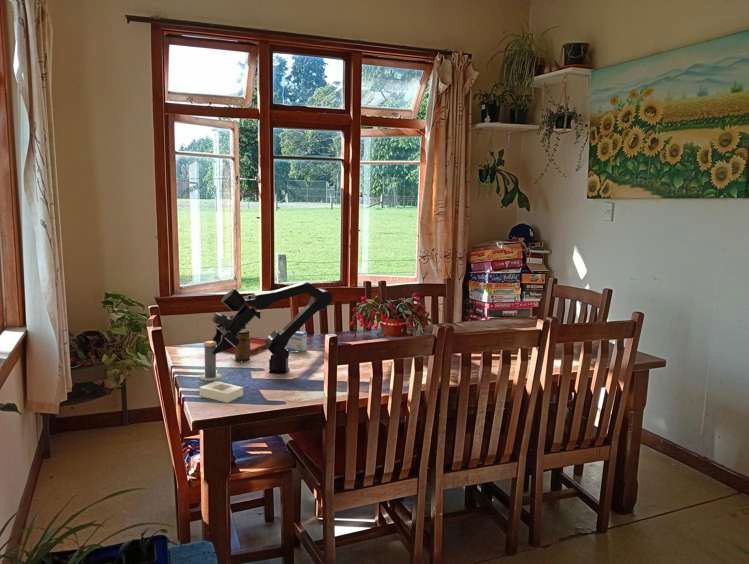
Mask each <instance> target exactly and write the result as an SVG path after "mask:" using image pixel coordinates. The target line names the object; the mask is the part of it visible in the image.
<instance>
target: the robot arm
mask: <svg viewBox="0 0 749 564" xmlns="http://www.w3.org/2000/svg"><path fill="white" fill-rule="evenodd" d="M302 294H307V295H310V296H311V297H310V299H309V300H308V301H309V302H308V303H307V305H306V306H304V308H303V309H302V310H300V311H299V312H298V313H297V314H296V315H295V316H294V317H293V318H292V319H291V320H290V321H289V322H288V323H287V324H286V325H285V326H284V327H283V328H282V329H281V330H279V331H277V330H276V329H274V330H273V331H272V332H271V334H269V335H267V336H266V338H267V340H266V347H265V348H266V349H267V350H268V351H269V352H270V354H271V355H270V359H269V360H268V369H269V371H268V373H269V374H270V373H271V374H280V375H281V374H284V375H285V374H287V372H288V371H290V367H289V355H291V354H290V353H291V352H290V351H287V350H286V346H287V344H288V342H289V339H290V338H291V337H292V336H293V335H294V334H295V333H296V332H297V331H300V329H301V328H302V327H304V325H305V324H306V323H307V322H308V321H309V320H310V319H312V317H313V316H314V315H315V314H316V313H317V312H319V311H322V310H324V309H325V308H327V307H328V306H330V305H331V304H332V302H333V295H332V293H331V292H329V291H328V290H327V289H324V288H317V287H316V286H313V285H312V284H311V283H309V282H308V281H307V280H306V281H305V280H303V281H301V282H299V283H295V284H291V285H287V286H285V287H281V288H279V289H275V290H263V291H256V292H254V293H252V294H251V295H247V296H246V295H245V296H243V295H242V294H241V293H240V292H239V291H238V290H237V288H233V289H232V290H230V291H229V292H227V293H225V294H224V296H223V297H222V298H221V303H223V305H225V306H226V307H227V308H228V309H229V310H230V311H232V312H234V311H235V312H236V313H235V314H234V315H230V316H229V317H228V316H227V315H225V314H223V313H222V314H221V313H218V312H215V313H214V314H213V316H212V319H211V321H212V322H213V323H214V324H215V326H216V327H215V328H214V330H215V334H214V336H213V338H212V339H211V341H216V348H215V349H214V351H213V354H214V355H215V354H216V355H218V354H220V353H223V352H224V351H225V350H227V349H230V348H232V347H234V346H237V345H238V344H239V343H240V340H239V338H238V335H237V334H238V333H239V332H240V331H241V330H246V329H247V327H246V326H247V325H248V324H249V323H250V322H251V321H252V320H253V319H254V318H255V317H256V318H258V319H259V320H260V319H261V313H262V312H261V310H264V309H266V308H269V307H270V306H272V305H273V304H275V303H277V302H278V301H282V300H286V299H290V298H293V297H295V296H300V295H302ZM248 305H249V306H248ZM254 307H255V308H254ZM256 309H258V310H256ZM217 344H218V345H217Z"/></svg>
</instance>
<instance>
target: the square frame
mask: <svg viewBox="0 0 749 564" xmlns="http://www.w3.org/2000/svg"><path fill="white" fill-rule="evenodd" d="M243 396H244V387H243V386H239V385H236V384H231V383H226V382H222V381H218V380H214V381H211V382H210V383H207V384H205V385H203V386H202V385H201V386H199V397H202V398H207V399H211V400H215V401H219V402H223V403H229V402H232V401H234V400H237V399H239V398H241V397H243ZM238 397H239V398H238Z"/></svg>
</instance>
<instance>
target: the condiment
mask: <svg viewBox="0 0 749 564" xmlns="http://www.w3.org/2000/svg"><path fill="white" fill-rule="evenodd" d="M237 335H238V338H239V340H240V343H239V344H238V345H237V346H235V352H234V357H231V358H230V359H231V360H232V361H236V362H238V363H240V364H241V363H243V364H244V363H251V362H255V361H257V360H256V359H255V358H252V357H251V354H250V337H251V336H250V331H249V330H248V329H242V330H241V331H240V332H239V333H238V334H237ZM241 361H242V362H241Z"/></svg>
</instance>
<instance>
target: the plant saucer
mask: <svg viewBox="0 0 749 564" xmlns="http://www.w3.org/2000/svg"><path fill="white" fill-rule="evenodd" d="M249 337H250V355H251V354H254V353H255V352H258V351H261V350H263V349H265V348H267V347H266V340H267V339H268V338H267V339H266V338H262V337H255V336H254V337H253V336H249ZM217 345H218V344H217ZM217 345H216V346H217ZM262 348H263V349H262ZM260 349H261V350H260ZM226 352H232V353H235V346H234V347H232V348H230V349H227V350H226Z"/></svg>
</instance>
